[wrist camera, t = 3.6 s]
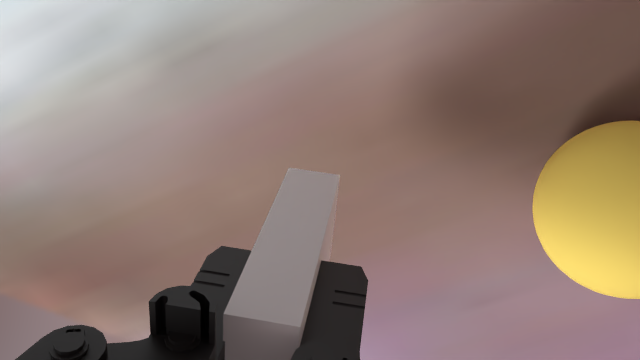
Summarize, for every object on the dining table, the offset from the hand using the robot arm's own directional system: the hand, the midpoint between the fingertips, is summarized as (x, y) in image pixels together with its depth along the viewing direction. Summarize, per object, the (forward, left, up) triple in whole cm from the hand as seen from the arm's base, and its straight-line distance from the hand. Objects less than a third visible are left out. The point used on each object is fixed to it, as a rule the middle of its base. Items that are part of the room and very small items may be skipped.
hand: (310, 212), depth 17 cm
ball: (0, +10, -2) cm, 10 cm away
